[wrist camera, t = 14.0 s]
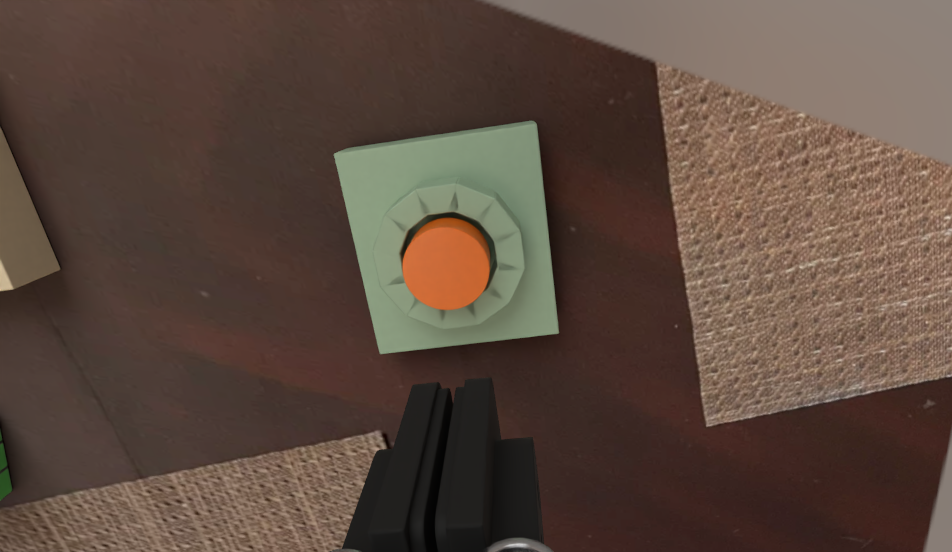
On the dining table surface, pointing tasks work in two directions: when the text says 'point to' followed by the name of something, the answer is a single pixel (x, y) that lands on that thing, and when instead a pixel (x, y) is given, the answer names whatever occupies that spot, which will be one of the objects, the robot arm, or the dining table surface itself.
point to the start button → (447, 264)
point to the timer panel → (20, 229)
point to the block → (463, 197)
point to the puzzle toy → (4, 473)
